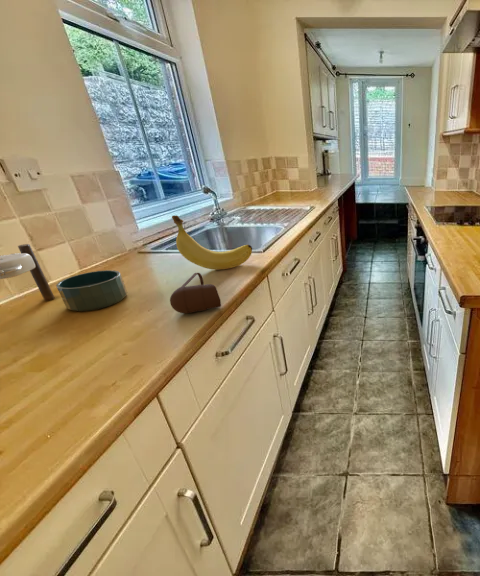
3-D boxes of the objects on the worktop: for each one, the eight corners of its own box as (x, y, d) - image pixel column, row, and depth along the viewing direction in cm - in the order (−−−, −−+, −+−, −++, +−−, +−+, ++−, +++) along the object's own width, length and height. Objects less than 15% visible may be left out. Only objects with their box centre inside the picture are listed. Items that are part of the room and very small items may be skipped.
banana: (253, 260, 121) (243, 207, 112) (256, 265, 116) (246, 210, 108) (184, 272, 110) (168, 214, 102) (185, 277, 105) (168, 217, 97)
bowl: (71, 318, 81) (59, 293, 78) (64, 302, 89) (53, 279, 86) (133, 300, 90) (125, 277, 87) (121, 288, 98) (113, 266, 95)
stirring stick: (44, 301, 90) (17, 246, 83) (44, 299, 91) (17, 245, 84) (55, 298, 91) (29, 245, 84) (54, 296, 92) (29, 243, 86)
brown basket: (223, 311, 83) (217, 287, 81) (171, 320, 79) (163, 295, 76) (225, 286, 98) (220, 265, 96) (182, 292, 94) (176, 271, 92)
